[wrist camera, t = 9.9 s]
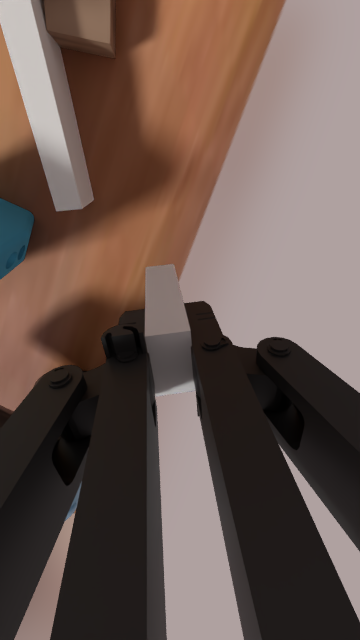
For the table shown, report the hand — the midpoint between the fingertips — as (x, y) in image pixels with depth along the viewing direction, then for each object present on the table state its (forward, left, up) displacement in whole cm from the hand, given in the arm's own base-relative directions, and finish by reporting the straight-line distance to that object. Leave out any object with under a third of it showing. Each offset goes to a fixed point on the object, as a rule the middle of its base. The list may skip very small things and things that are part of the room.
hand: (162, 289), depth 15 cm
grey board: (+13, +10, -29) cm, 33 cm away
